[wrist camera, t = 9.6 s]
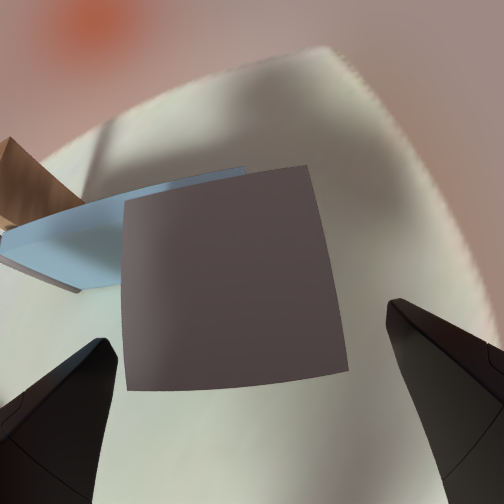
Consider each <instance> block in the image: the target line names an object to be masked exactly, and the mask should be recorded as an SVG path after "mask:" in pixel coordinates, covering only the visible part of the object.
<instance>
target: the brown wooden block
mask: <svg viewBox="0 0 504 504" xmlns="http://www.w3.org/2000/svg"><path fill="white" fill-rule="evenodd" d="M84 204H86V203H84V202H83V201H82V200H81V199H80V198H78V197H77V196H76V195H75V194H74V193H72V192H71V191H70V190H69V189H68V188H67V187H65V186H64V185H63V184H62V183H61V182H60V181H59V180H57V179H56V178H55V177H54V176H53V175H52V174H51V173H49V172H48V171H47V170H46V169H45V168H44V167H43V166H42V165H41V164H39V163H38V162H37V161H36V160H35V159H34V158H33V157H32V156H31V155H29V154H28V153H27V152H26V151H25V150H24V149H23V148H22V147H21V146H20V145H19V144H18V143H17V142H16V141H15V140H14V139H12V138H11V137H8V138H7V139H5V140H4V141H2V142H1V143H0V228H1V229H3V230H4V231H9V230H11V229H14V228H17V227H19V226H22V225H25V224H27V223H30V222H33V221H36V220H39V219H41V218H44V217H47V216H50V215H53V214H56V213H59V212H62V211H65V210H68V209H71V208H75V207H78V206H81V205H84Z"/></svg>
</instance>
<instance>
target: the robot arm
mask: <svg viewBox="0 0 504 504" xmlns="http://www.w3.org/2000/svg"><path fill="white" fill-rule="evenodd" d="M386 329H387V332H388V335H389V338H390V341H391V344H392V347H393V350H394V353H395V357H396V360H397V363H398V366H399V369H400V372H401V374H402V376H403V379H404V381H405V383H406V386H407V388H408V390H409V393H410V395H411V398H412V400H413V402H414V405H415V407H416V410H417V412H418V415H419V417H420V420H421V423H422V425H423V428H424V430H425V433H426V436H427V438H428V441H429V444H430V447H431V449H432V452H433V455H434V458H435V461H436V464H437V467H438V470H439V473H440V476H441V479H442V481H443V482H442V483H443V486H444V489H445V493H446V496H447V499H448V503H449V504H504V351H502V350H500V349H498V348H496V347H495V346H493V345H491V344H489V343H488V344H487V343H486V342H485V341H483V340H481V339H479V338H478V337H476V336H474V335H472V334H470V333H468V332H466V331H464V330H462V329H461V328H459V327H457V326H455V325H453V324H451V323H449V322H447V321H445V320H443V319H441V318H439V317H438V316H436V315H434V314H432V313H430V312H428V311H426V310H424V309H422V308H420V307H418V306H416V305H414V304H412V303H410V302H408V301H406V300H404V299H402V298H398V299H393V300H390V301H389V302H388V305H387V315H386ZM117 365H118V357H117V355H116V353H115V351H114V349H113V347H112V346H111V344H110V342H109V340H108V339H107V338H95V339H94V340H92V341H91V342H90V343H88V344H87V345H86V346H84V347H83V348H82V349H80V350H79V351H77V352H76V353H75V354H73V355H72V356H71V357H69V358H68V359H67V360H65V361H64V362H63V363H61V364H60V365H59V366H57V367H56V368H55V369H53V370H52V371H50V372H49V373H48V374H46V375H45V376H44V377H42V378H41V379H40V380H38V381H37V382H36V383H34V384H33V385H32V386H31V387H29V388H28V389H27V390H26V391H24V392H23V393H21V394H20V395H19V396H17V397H16V398H15V399H13V400H12V401H11V402H9V403H8V404H6V405H5V406H3V407H2V408H0V504H92V499H93V492H94V486H95V479H96V473H97V468H98V462H99V457H100V452H101V447H102V442H103V437H104V432H105V428H106V423H107V419H108V415H109V411H110V406H111V402H112V397H113V391H114V384H115V377H116V371H117Z"/></svg>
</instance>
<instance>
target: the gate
mask: <svg viewBox="0 0 504 504" xmlns="http://www.w3.org/2000/svg"><path fill="white" fill-rule="evenodd" d="M241 175H246V174H245V170H244V166H243V167H238V168H232V169H227V170H222V171H216V172H211V173H207V174H202V175H197V176H192V177H188V178H183V179H179V180H174V181H170V182H166V183H162V184H157V185H153V186H149V187H145V188H141V189H137V190H134V191H130V192H126V193H122V194H119V195H115V196H112V197H108V198H104V199H101V200H98V201H94V202H91V203H88V204H84V205H81V206H78V207H75V208H71V209H68V210H65V211H62V212H59V213H56V214H53V215H50V216H47V217H44V218H41V219H39V220H36V221H33V222H30V223H27V224H25V225H22V226H19V227H17V228H14V229H11V230H9V231H6V232H4V233H3V234H2V236H1V235H0V263H2V264H4V265H7V266H9V267H11V268H13V269H16V270H18V271H20V272H23V273H25V274H27V275H30V276H32V277H35V278H37V279H39V280H42V281H44V282H47V283H49V284H52V285H55V286H57V287H60V288H62V289H65V290H68V291H70V292H73V293H79V292H80V291H81V290H83V289H90V288H98V287H105V286H112V285H119V284H121V252H122V230H123V214H124V202H125V201H126V200H130V199H134V198H138V197H142V196H146V195H150V194H154V193H158V192H163V191H167V190H171V189H176V188H180V187H185V186H190V185H194V184H199V183H204V182H209V181H214V180H219V179H224V178H230V177H235V176H241Z"/></svg>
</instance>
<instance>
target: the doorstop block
mask: <svg viewBox="0 0 504 504" xmlns="http://www.w3.org/2000/svg"><path fill="white" fill-rule="evenodd" d="M121 314H122V337H123V352H124V364H125V375H126V384H127V391H191V390H211V389H226V388H238V387H248V386H258V385H266V384H274V383H282V382H289V381H296V380H302V379H308V378H314V377H320V376H325V375H331V374H336V373H341V372H345V371H349V368H348V361H347V354H346V348H345V341H344V335H343V329H342V323H341V317H340V311H339V306H338V300H337V295H336V289H335V284H334V279H333V274H332V269H331V264H330V259H329V255H328V250H327V245H326V241H325V236H324V232H323V228H322V223H321V219H320V215H319V211H318V207H317V203H316V199H315V195H314V191H313V187H312V183H311V179H310V175H309V172H308V168H307V165H304V166H297V167H290V168H283V169H277V170H270V171H264V172H258V173H252V174H246V175H241V176H235V177H230V178H224V179H219V180H214V181H209V182H204V183H199V184H194V185H190V186H185V187H180V188H176V189H171V190H167V191H163V192H158V193H154V194H150V195H146V196H142V197H138V198H134V199H130V200H126V201H125V202H124V214H123V230H122V252H121Z"/></svg>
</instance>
